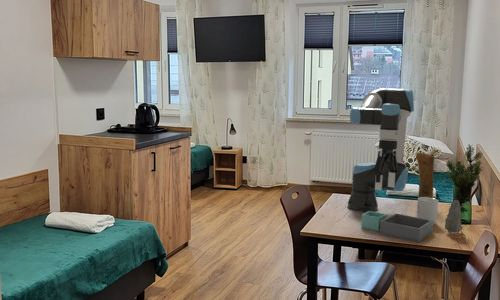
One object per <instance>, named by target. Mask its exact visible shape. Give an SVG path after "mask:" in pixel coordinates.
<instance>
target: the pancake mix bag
mask: <svg viewBox="0 0 500 300" xmlns="http://www.w3.org/2000/svg"><path fill="white" fill-rule="evenodd" d="M415 158H416V162H417V166H418V174H419V183H418V184H419V185H418V196H417V199H418V198H420V197H429V198H434V167H435V166H434V165H435V157H434V155H431V154H427V153H422V152H419V151H418V152H416V154H415Z"/></svg>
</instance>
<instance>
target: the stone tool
mask: <svg viewBox="0 0 500 300" xmlns="http://www.w3.org/2000/svg"><path fill="white" fill-rule="evenodd" d="M461 208H462V205H461V204H460V201H459V200H458V199H454V200H453V201H452V202H451V204H450V206H449V209H448V214H447V215H446V218H445V225H444V229H445V230H446V231H447V233H449V234H451V233H454V234H455V233H457V234H458V233H460V232H462V231H463V226H462V225H463V224H462V222H461V221H462V219H461V217H462V212H461Z"/></svg>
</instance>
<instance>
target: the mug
mask: <svg viewBox="0 0 500 300" xmlns="http://www.w3.org/2000/svg"><path fill="white" fill-rule="evenodd" d="M416 207H417V208H416V217H417V218H422V219H427V220H432V221H433V225H435V224H436V223H437V221H438V208H439V199H437V198H434V197H433V198H429V197H420V198H418V197H417V205H416Z"/></svg>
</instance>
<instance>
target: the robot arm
mask: <svg viewBox="0 0 500 300" xmlns="http://www.w3.org/2000/svg"><path fill="white" fill-rule="evenodd" d="M414 103H415V102H414V92H413V90H412V89H411V88H394V87H393V88H391V87H389V88H387V87H381V88H377V89H374V90H371V91H370V92H368V93H366V94H365V96H364V97H363V100H362V103H361V105H360V106H359V107H352V108H351V109H350V112H349V121H350V123H351V124H353V125H354V124H355V125H370V126H380V128H379V137H378V138H379V140H378V149H379V150H378V152H377V158H376V161H375V162H360V163H356V164H355V165H353V168H352V181H351V182H352V183H351V184H352V186H351V189H352V190H351V194H350V196H349V199H348V201H347V207H348V208H349V209H351V210H354V211H360V212H369V211H372V212H376V211H377V210H378V209H379V208H378V207H379V205H378V200H377V196H376V191H390V192H392V191H393V192H403V191H404V190H405V188H406V185H407V181H408V176H409V169H408V168H407V166H406V164H405V163H404V154H405V143H406V134H407V133H406V132H407V123H408V117H410V116H411V113H412V112H413V113H414V111H415V109H414V107H415V106H414ZM380 149H381V150H380Z"/></svg>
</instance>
